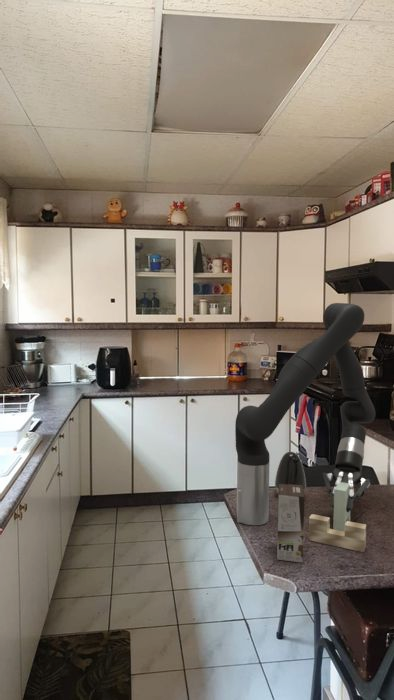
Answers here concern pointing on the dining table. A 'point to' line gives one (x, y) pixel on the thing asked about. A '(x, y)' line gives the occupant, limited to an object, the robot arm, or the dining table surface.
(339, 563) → the dining table surface
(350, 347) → the robot arm
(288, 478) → the dark grey rounded-top part
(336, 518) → the mint green upright block
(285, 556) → the coffee box
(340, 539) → the birch slotted plate
